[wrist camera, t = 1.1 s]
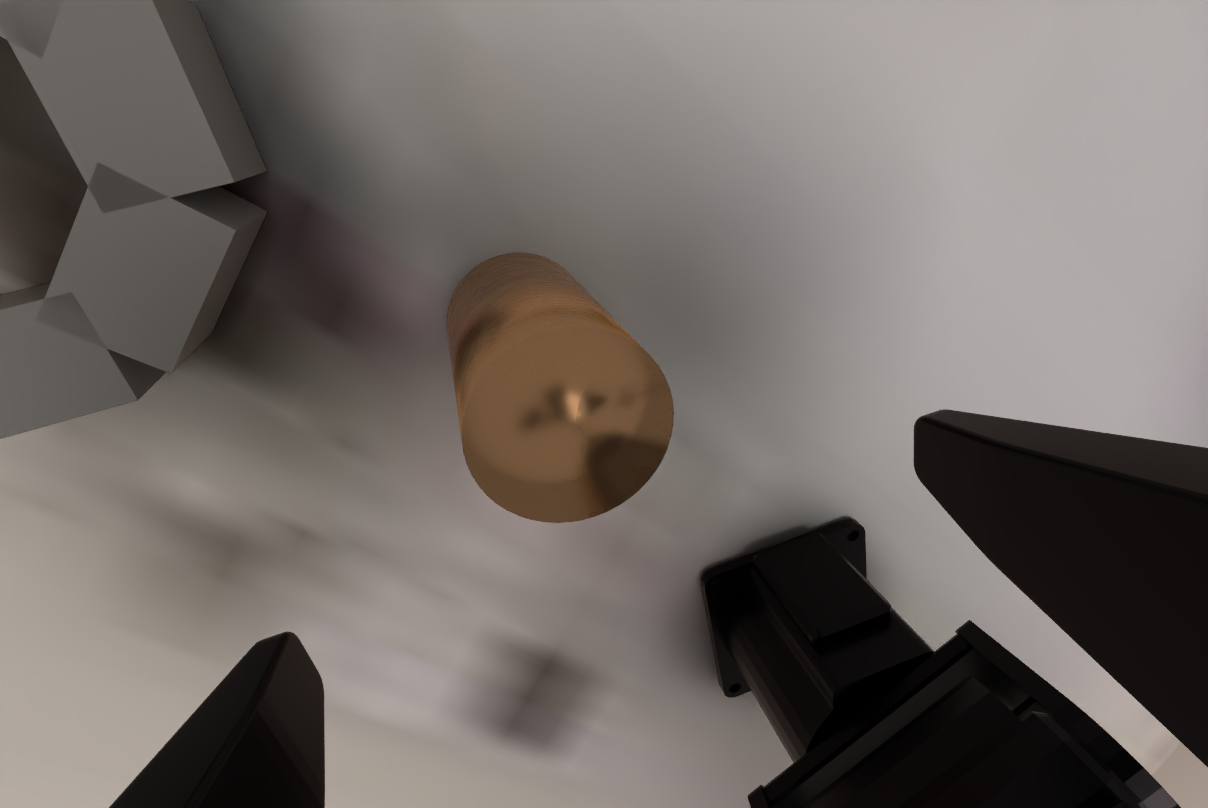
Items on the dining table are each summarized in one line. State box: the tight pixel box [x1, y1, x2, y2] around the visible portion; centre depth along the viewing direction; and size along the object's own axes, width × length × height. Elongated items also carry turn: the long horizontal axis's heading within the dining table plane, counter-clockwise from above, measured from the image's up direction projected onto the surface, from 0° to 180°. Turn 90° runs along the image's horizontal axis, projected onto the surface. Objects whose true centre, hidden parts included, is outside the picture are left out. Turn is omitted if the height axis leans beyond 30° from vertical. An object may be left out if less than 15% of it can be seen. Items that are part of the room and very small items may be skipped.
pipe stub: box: [447, 253, 674, 523], centre depth 15 cm, size 4×4×7 cm
